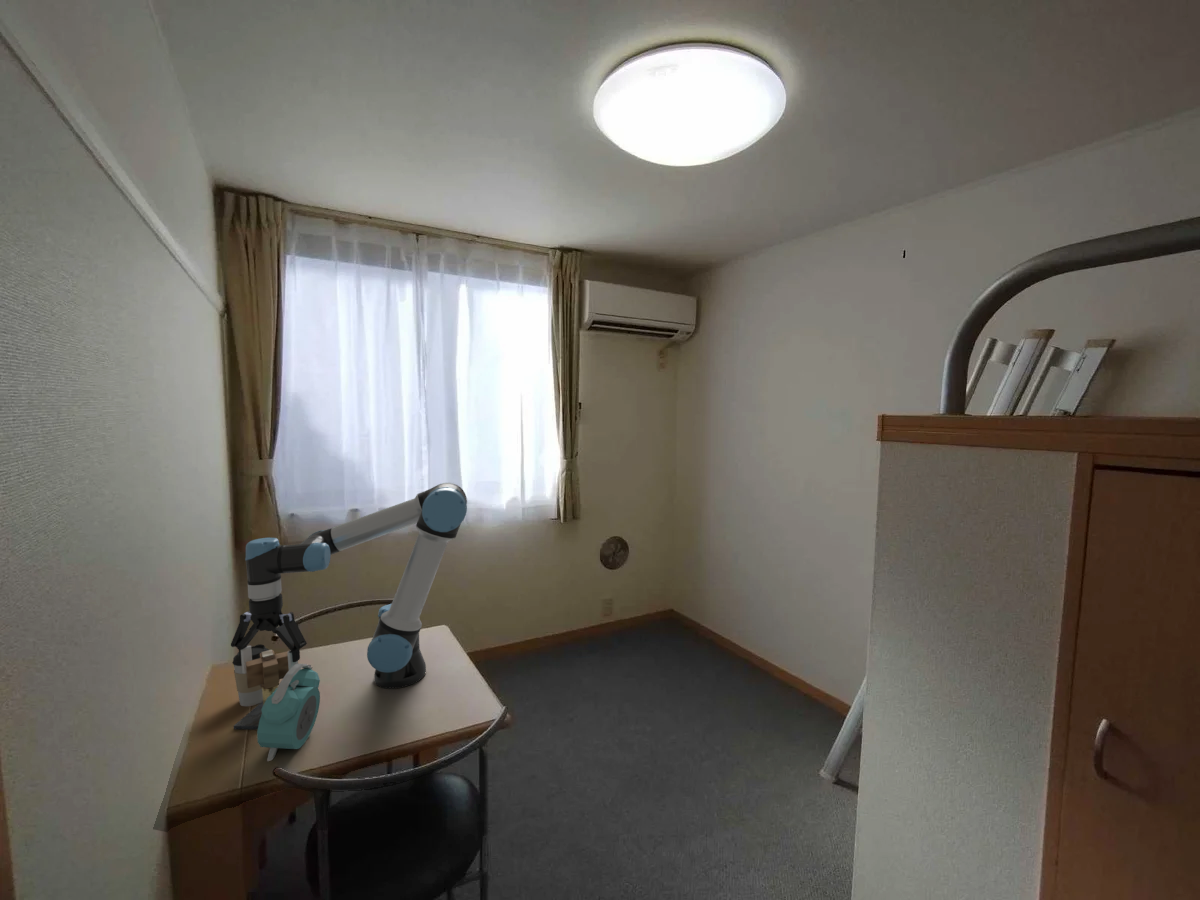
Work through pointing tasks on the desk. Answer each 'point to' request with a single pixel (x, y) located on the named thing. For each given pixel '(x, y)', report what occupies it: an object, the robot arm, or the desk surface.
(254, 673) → the cross cap
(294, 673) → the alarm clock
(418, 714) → the desk surface
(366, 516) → the robot arm
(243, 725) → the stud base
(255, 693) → the coffee cup
